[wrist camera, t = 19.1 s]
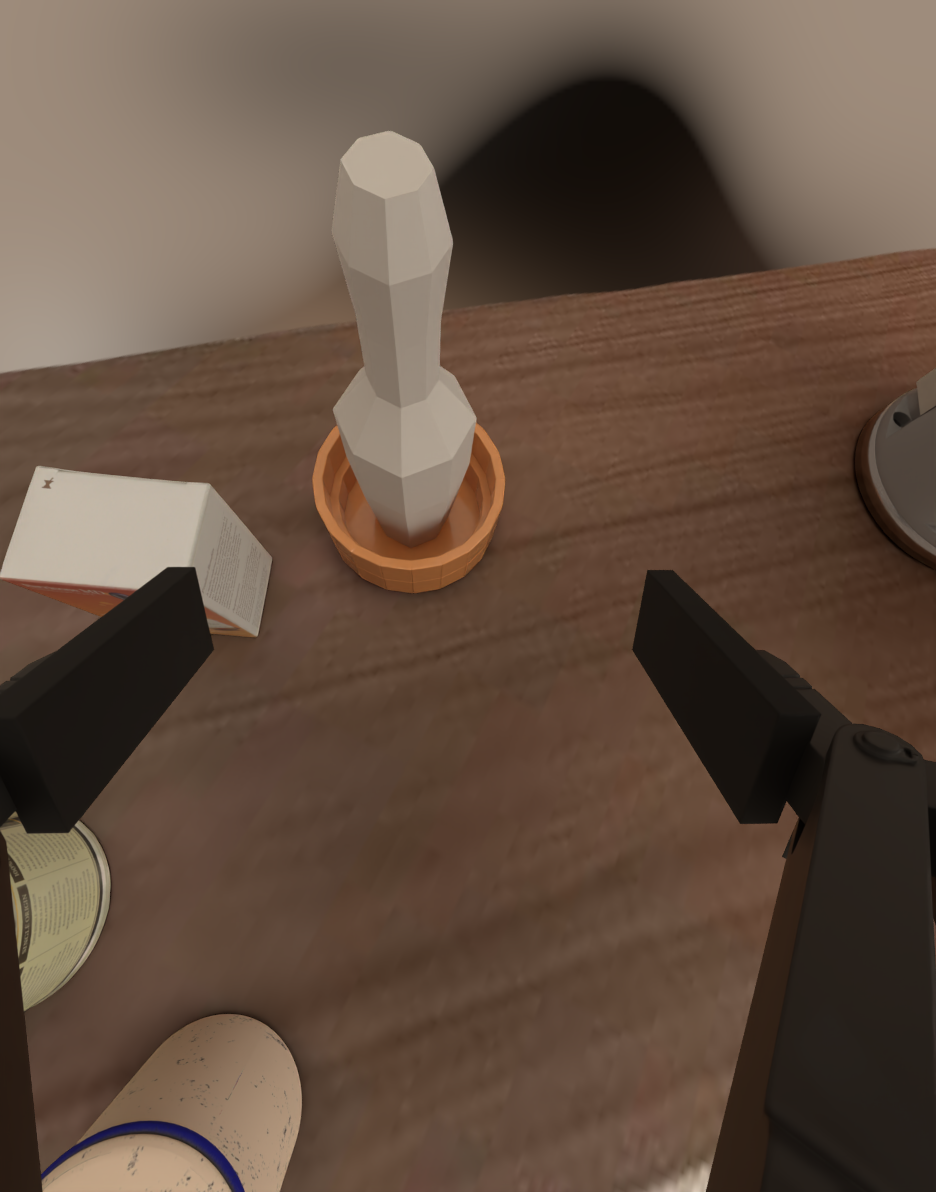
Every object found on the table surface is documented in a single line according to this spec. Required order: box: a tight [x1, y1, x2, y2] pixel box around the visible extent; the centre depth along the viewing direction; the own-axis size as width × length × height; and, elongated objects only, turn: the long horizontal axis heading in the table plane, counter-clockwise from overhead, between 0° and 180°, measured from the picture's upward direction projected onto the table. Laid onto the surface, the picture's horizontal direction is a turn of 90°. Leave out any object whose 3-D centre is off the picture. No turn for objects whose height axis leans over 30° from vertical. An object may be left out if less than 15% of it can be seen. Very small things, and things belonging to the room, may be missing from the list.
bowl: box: [312, 423, 505, 593], centre depth 32 cm, size 11×11×6 cm
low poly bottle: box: [332, 131, 476, 548], centre depth 24 cm, size 6×6×22 cm
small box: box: [0, 466, 272, 637], centre depth 27 cm, size 8×6×10 cm
